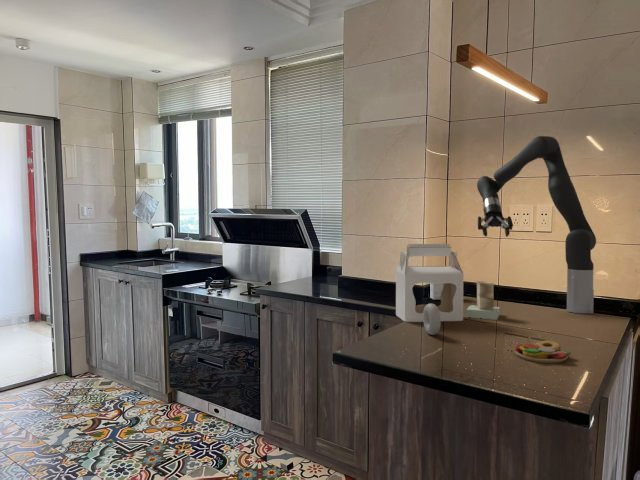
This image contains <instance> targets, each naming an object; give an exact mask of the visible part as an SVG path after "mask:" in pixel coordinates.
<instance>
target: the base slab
mask: <svg viewBox="0 0 640 480" xmlns="http://www.w3.org/2000/svg"><path fill="white" fill-rule="evenodd" d="M500 312H501V308H500V307H499V306H494V310H480V309H479V308H478V307H477V305H473V304H472V305H469V306H468V307H467V308H466V309H465V318H468V317H471V318H470V319H480V318H482V319H483V320H493V321H494V320H495V321H497V320H498V319H499V317H500V315H501V313H500ZM482 319H481V320H482Z"/></svg>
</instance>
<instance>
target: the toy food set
mask: <svg viewBox="0 0 640 480" xmlns="http://www.w3.org/2000/svg"><path fill="white" fill-rule="evenodd" d="M515 346H516V347H515V350H514V353H515V355H517V356H518V357H519V358H521V359H523V360H527V361H531V362H537V363H545V364H547V363H548V364H553V363H554V364H556V363H562V362H565V360H567V359H568V358H569V356H570V355H571V351H570V350H562V348H561V344H559V343H558V342H555V341H552V340H541V341H537V342H536V343H535V344H534V343H533V344H530V343H529V344H528V343H526V344H524V345H522V344H517V345H515Z"/></svg>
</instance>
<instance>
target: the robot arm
mask: <svg viewBox="0 0 640 480" xmlns="http://www.w3.org/2000/svg"><path fill="white" fill-rule="evenodd" d="M537 159H542V160H543V161H544V163H545V166H546V169H547V172H548V182H547V188H548V193H549V195H550V197H551V200H552V202H553V204H554V206H555V208H556V209H557V211H558V212H559V214H560V215H561V216H562V217H563V219H564V221H565V222H566V224H567V227H568V230H569V232H568V234H567V235H566V237H565V243H564V244H565V248H564V249H565V250H564V251H565V262H566V266H567V267H566V268H567V269H566V270H567V271H566V273H567V274H566V311H567V312H569V313H574V314H586V315H587V314H592V315H593V314H594V304H595V303H594V301H595V300H594V299H595V298H594V297H595V296H594V292H595V291H594V266H595V265H594V262H593V261H592V256H591V254H592V250H593V249H594V248H595V246H597V238H596V235H595V233H594V231H593V229H592V227H591V225H590V224H589V222H588V219H587V217H586V215H585V213H584V210H583V208H582V204H581V201H580V199H579V197H578V193H577V191H576V188H575V186H574V183H573V182H572V180H571V177H570V175H569V171H568V169H567V167H566V165H565V162H564V158H563V154H562V150H561V146H560V143H559V141H558V140H557V139H556V138H555V137H554V136H547V135H546V136H545V135H539V136H536V137H534V138H533V139H532V140H531V141H529V142H528V144H526V145H525V146H524V148H522V149H521V150H520V151H519V153H517V154H516V155H515V156H514V157H513V158H512V159H511V160H509V161H508V162H506V163H505V164H503V165H502V166H501V167H499V168H498V169H497V170H496V171H494V173H493V178H491V177H489V176H487V175H482V176H480V178H479V179H478V180H477V184H476V188H477V191H478V193H479V195H480V197H481V199H482V204H483V205H482V207H483V208H482V211H483V215H484V217H482V216H480V215H479V216H478V217H477V229H478V230H479V231H480V230H481V231H482V235H483V236H484V237H488V229H489V228H490V227H491V228H494V227H496V228H500V229H503V230H504V234H505V235H504V236H505V237H509V236H510V233H511V232H510V231H511V230H513V227H514V224H513V220H512V217H511V216H507V217H504V216H503V212H502V211H503V210H502V205H501V202H500V198H499V194H498V193H499V192H500V190H501V189H502V188H503V187H504V186H505V185H506V183H508V182H510V181H511V180H513V179H514V178H515V177H516V176H517V175H519V174H520V173H521V171H522V170H523V168H525V166H526V165H528V164H529V163H531V162H533V161H535V160H537ZM483 222H484V224H483V225H482V223H483Z"/></svg>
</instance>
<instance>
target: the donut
mask: <svg viewBox="0 0 640 480" xmlns="http://www.w3.org/2000/svg"><path fill="white" fill-rule="evenodd" d="M425 305H426V306H425V308H424V312H423V322H422V323H423V325H424V329H425V331H426V333H427V334H429V335H431V336H435V335H437V334H438V333H439V331H440V329H441V326H442V325H441V322H442V321H441V318H440V313H439V310H438V308H437V307H438V306H437V305H436V304H434V303H428V304H427V303H426V304H425Z"/></svg>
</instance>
